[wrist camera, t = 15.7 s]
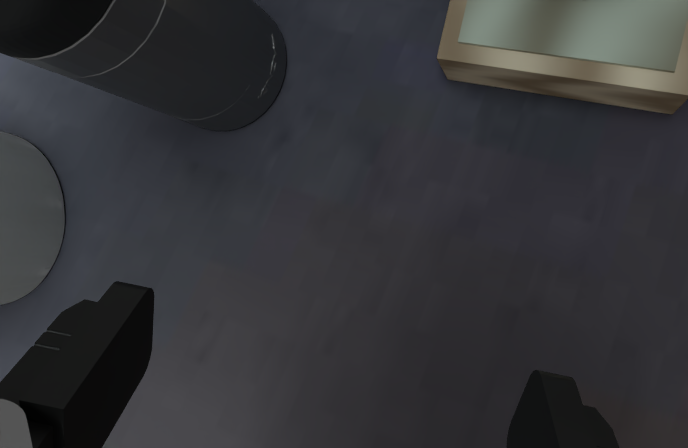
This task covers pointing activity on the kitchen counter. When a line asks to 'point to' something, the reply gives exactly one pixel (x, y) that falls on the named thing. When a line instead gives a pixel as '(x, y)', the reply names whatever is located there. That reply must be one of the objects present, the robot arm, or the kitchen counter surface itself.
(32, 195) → the utensil holder
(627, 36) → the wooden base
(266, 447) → the kitchen counter surface
